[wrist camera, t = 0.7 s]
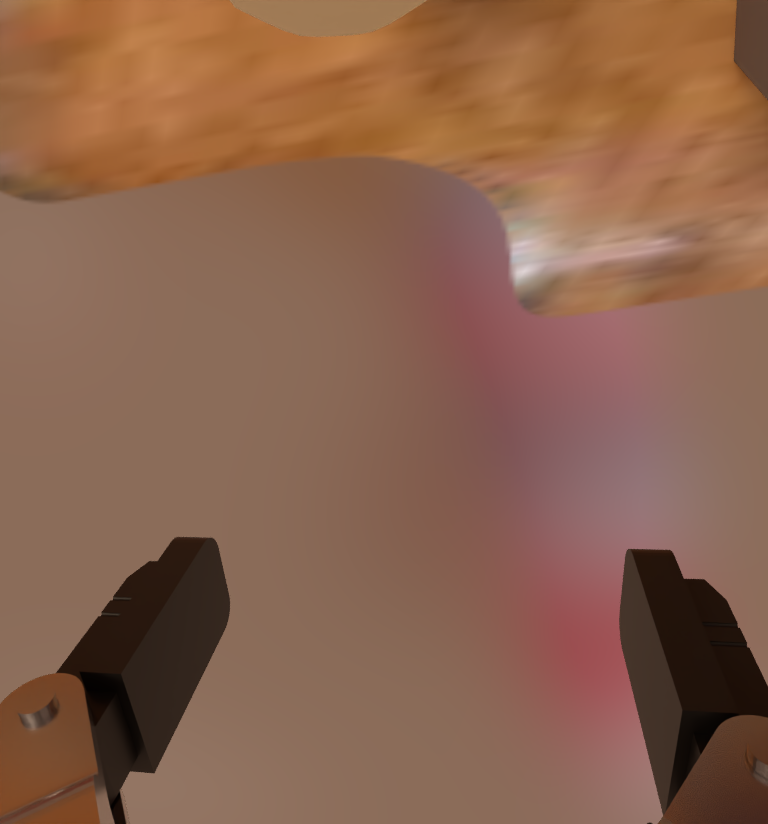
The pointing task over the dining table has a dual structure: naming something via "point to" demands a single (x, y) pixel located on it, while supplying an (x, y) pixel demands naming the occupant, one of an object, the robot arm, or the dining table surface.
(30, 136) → the dining table surface
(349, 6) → the handle
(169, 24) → the dining table surface
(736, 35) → the board
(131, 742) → the robot arm
